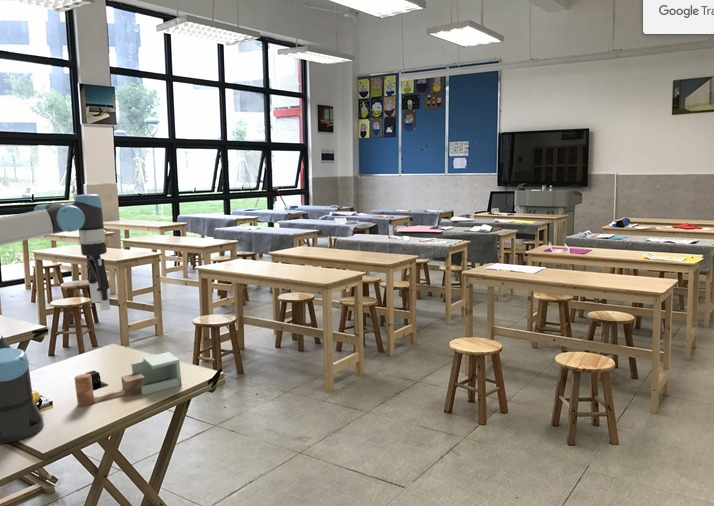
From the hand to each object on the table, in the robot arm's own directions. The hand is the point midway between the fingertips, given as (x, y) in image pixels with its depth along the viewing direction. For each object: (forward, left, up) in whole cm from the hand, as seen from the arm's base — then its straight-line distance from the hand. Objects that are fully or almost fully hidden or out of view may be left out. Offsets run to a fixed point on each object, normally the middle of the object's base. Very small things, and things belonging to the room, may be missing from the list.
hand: (100, 306), depth 198 cm
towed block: (-1, -8, -29) cm, 30 cm away
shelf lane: (+13, -8, -29) cm, 33 cm away
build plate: (-4, +8, -29) cm, 31 cm away
